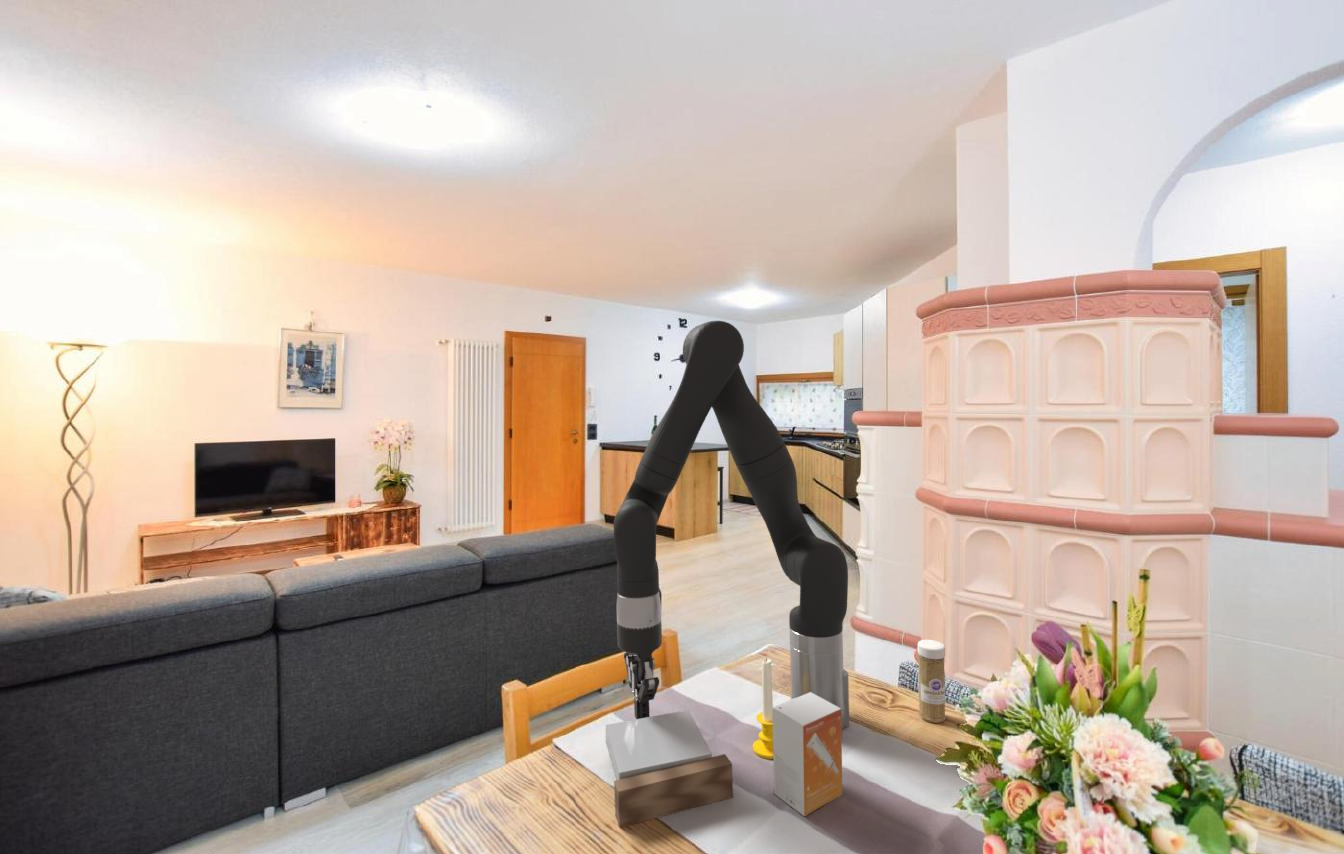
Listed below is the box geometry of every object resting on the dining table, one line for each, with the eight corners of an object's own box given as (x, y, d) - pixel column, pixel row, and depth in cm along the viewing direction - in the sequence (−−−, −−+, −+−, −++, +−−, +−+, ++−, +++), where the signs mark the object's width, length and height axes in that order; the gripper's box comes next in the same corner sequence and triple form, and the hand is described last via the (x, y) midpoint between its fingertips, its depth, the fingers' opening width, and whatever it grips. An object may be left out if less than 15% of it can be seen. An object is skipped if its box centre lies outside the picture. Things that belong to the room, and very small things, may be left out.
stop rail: (725, 786, 87) (724, 753, 87) (732, 796, 85) (731, 763, 84) (615, 815, 82) (614, 780, 81) (619, 827, 79) (618, 791, 79)
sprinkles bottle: (928, 725, 102) (927, 650, 101) (913, 712, 106) (912, 640, 106) (951, 721, 103) (950, 647, 102) (935, 709, 107) (934, 637, 107)
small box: (804, 818, 80) (802, 725, 79) (772, 793, 85) (770, 706, 85) (844, 795, 84) (842, 707, 84) (811, 773, 90) (809, 690, 89)
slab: (688, 726, 97) (688, 709, 97) (711, 771, 87) (711, 753, 86) (605, 741, 93) (605, 724, 93) (619, 791, 83) (619, 772, 82)
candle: (759, 761, 93) (757, 665, 92) (748, 743, 98) (746, 652, 98) (789, 756, 94) (787, 662, 94) (777, 738, 99) (775, 649, 99)
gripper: (673, 628, 93) (676, 734, 93) (648, 603, 105) (651, 696, 106) (628, 635, 90) (631, 744, 91) (608, 608, 103) (611, 705, 103)
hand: (642, 718), depth 98 cm, fingers closed
